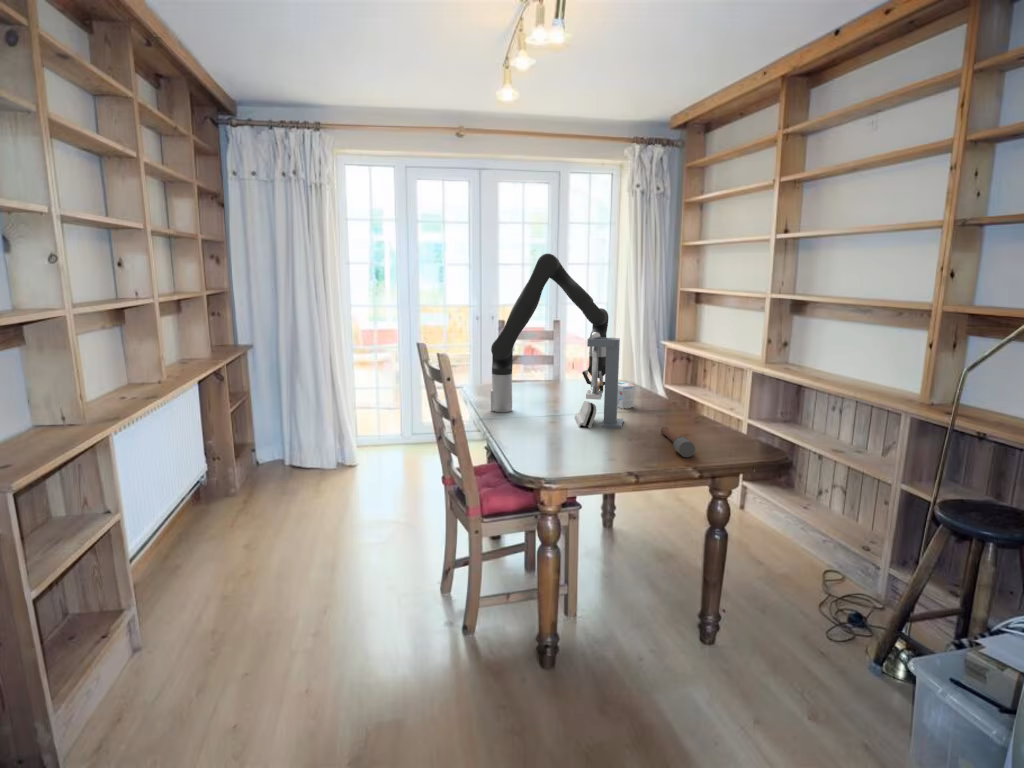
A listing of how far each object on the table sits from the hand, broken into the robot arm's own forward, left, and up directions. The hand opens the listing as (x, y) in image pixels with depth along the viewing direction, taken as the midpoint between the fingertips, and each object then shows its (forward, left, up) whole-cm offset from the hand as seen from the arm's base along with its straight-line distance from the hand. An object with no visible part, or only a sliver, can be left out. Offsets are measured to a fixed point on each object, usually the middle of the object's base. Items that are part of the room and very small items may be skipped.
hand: (596, 393), depth 257 cm
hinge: (-3, -13, -10) cm, 17 cm away
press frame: (+4, -14, -10) cm, 17 cm away
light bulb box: (+10, +21, -10) cm, 26 cm away
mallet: (+32, -37, -10) cm, 50 cm away
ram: (0, -8, +1) cm, 8 cm away
